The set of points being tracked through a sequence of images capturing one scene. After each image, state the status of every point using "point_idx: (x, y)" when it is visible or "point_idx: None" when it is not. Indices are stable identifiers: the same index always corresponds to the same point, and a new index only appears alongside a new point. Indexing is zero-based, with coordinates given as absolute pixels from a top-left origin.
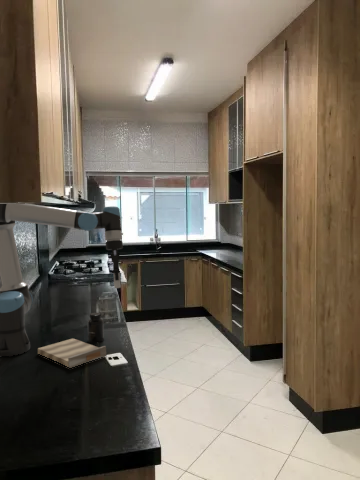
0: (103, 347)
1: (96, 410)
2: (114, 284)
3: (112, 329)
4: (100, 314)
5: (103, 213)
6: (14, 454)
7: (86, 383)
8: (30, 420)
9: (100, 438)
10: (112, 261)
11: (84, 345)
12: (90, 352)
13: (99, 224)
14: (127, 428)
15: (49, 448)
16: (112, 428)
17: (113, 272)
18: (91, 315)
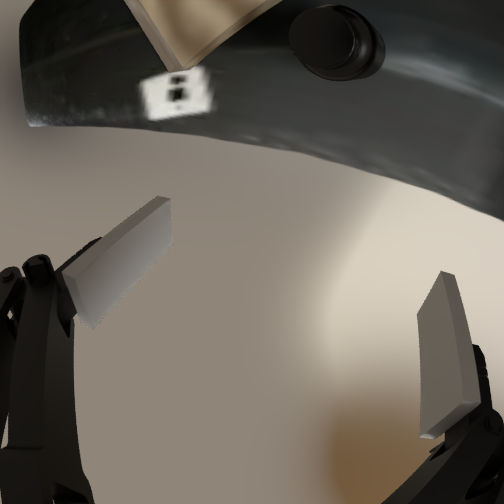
0: (165, 65)
1: (50, 71)
2: (137, 212)
3: (476, 158)
4: (308, 64)
5: None
6: (25, 18)
7: (92, 43)
8: (47, 6)
9: (29, 82)
10: (34, 449)
11: (231, 4)
12: (147, 33)
13: None
14: (36, 105)
15: (25, 43)
16: (35, 91)
17: (40, 269)
18: (300, 14)
